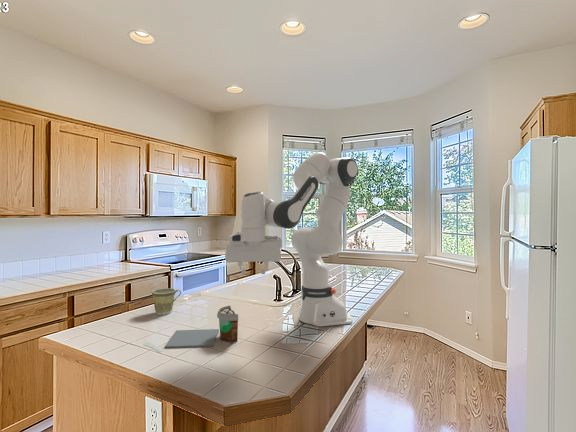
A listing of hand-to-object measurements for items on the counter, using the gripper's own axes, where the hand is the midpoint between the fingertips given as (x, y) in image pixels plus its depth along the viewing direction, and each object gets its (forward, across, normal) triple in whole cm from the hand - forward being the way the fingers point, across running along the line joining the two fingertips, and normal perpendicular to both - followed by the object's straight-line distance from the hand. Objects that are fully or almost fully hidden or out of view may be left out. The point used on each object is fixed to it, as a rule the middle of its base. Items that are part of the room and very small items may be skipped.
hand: (253, 273), depth 120 cm
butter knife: (+24, +29, +11) cm, 39 cm away
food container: (+23, +10, 0) cm, 25 cm away
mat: (+23, +21, 0) cm, 32 cm away
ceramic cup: (+23, +40, -33) cm, 57 cm away
